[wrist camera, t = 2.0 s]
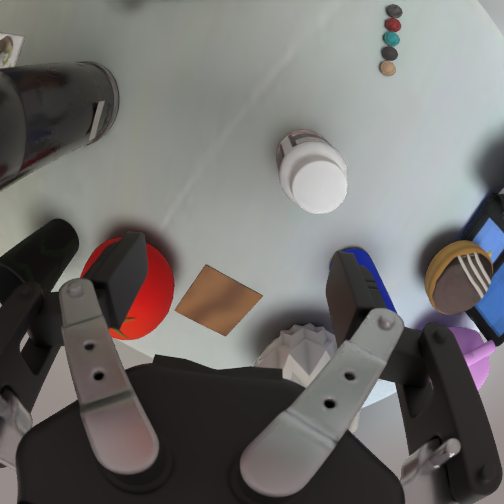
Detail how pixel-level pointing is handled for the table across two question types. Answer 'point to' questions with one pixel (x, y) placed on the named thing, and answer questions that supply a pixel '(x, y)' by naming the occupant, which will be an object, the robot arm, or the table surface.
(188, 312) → the copper coaster
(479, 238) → the game console
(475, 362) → the teapot
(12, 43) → the elephant figurine
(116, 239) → the tomato
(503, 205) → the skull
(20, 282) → the cup
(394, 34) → the beads
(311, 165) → the pill bottle
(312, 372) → the vase
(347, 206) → the table surface
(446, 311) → the doughnut
